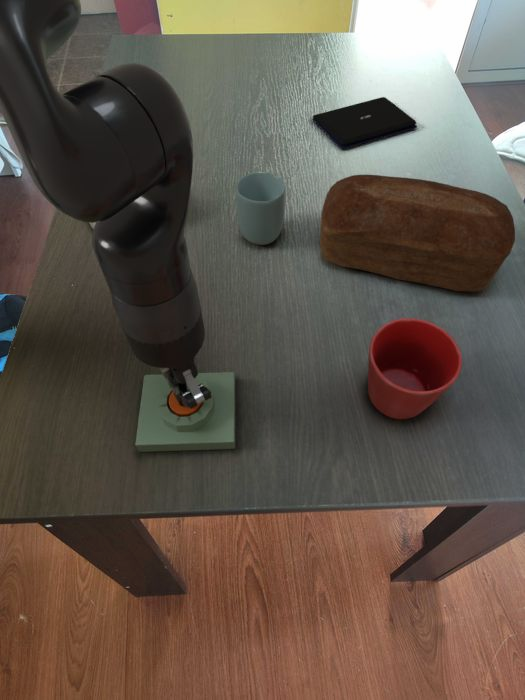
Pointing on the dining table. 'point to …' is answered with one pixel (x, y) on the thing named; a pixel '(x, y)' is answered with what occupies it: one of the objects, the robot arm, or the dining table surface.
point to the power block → (187, 432)
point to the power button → (182, 407)
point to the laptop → (363, 122)
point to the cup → (260, 206)
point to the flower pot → (410, 366)
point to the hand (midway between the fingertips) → (185, 398)
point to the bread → (416, 231)
